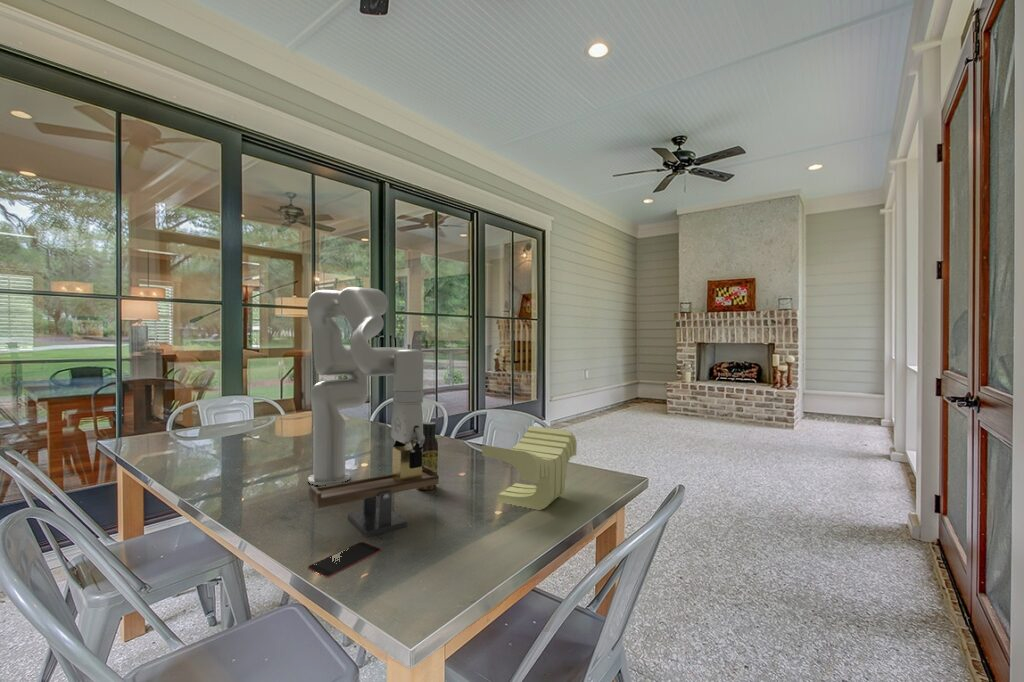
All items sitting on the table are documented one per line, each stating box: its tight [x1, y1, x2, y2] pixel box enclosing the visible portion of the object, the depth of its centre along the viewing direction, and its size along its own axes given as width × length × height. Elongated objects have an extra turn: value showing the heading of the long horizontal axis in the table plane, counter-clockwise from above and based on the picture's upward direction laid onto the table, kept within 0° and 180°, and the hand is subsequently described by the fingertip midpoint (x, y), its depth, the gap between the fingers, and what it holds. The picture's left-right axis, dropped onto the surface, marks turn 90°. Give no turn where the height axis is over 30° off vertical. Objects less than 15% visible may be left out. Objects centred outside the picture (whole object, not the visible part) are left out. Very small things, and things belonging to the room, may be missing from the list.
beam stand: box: [347, 490, 408, 538], centre depth 115 cm, size 13×10×9 cm
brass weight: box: [391, 444, 422, 482], centre depth 120 cm, size 5×6×8 cm
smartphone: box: [307, 541, 382, 578], centre depth 96 cm, size 7×1×14 cm
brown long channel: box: [308, 466, 440, 509], centre depth 115 cm, size 8×30×4 cm, turn 127°
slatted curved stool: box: [481, 425, 578, 511], centre depth 132 cm, size 30×16×18 cm, turn 153°
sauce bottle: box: [417, 421, 439, 491], centre depth 141 cm, size 6×6×20 cm
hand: (407, 462), depth 119 cm, fingers open, 9 cm apart
